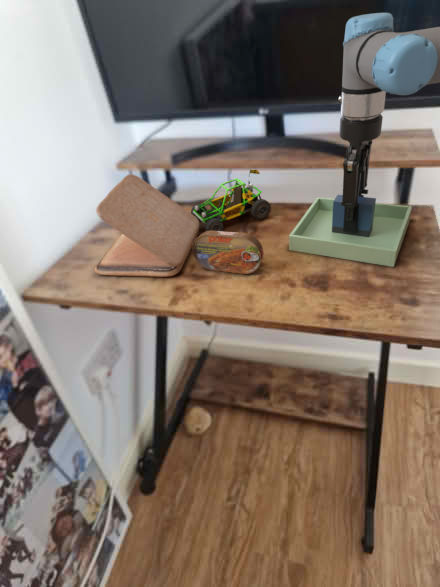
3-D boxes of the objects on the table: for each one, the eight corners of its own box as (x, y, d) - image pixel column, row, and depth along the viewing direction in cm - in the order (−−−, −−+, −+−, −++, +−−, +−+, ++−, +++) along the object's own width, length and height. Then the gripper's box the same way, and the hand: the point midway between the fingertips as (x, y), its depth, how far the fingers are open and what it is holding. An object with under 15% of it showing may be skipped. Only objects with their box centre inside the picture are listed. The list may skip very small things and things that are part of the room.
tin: (194, 268, 87) (188, 234, 82) (200, 260, 89) (194, 226, 84) (261, 276, 81) (259, 240, 76) (266, 268, 83) (264, 232, 78)
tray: (409, 220, 91) (412, 206, 89) (393, 267, 78) (396, 251, 76) (316, 210, 101) (317, 196, 98) (289, 250, 88) (288, 235, 86)
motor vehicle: (191, 220, 105) (184, 182, 98) (256, 199, 110) (253, 161, 103) (208, 238, 96) (202, 197, 90) (278, 215, 101) (277, 174, 95)
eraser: (372, 229, 89) (376, 198, 84) (368, 237, 87) (372, 205, 82) (336, 225, 92) (337, 194, 88) (331, 232, 90) (333, 201, 86)
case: (180, 279, 84) (164, 209, 74) (90, 277, 89) (64, 211, 79) (204, 230, 99) (193, 167, 90) (127, 231, 105) (109, 171, 95)
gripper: (352, 103, 82) (345, 208, 96) (328, 128, 71) (324, 243, 85) (391, 102, 79) (378, 211, 93) (372, 129, 68) (360, 248, 82)
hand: (352, 226), depth 89 cm, fingers closed on eraser, 3 cm apart
